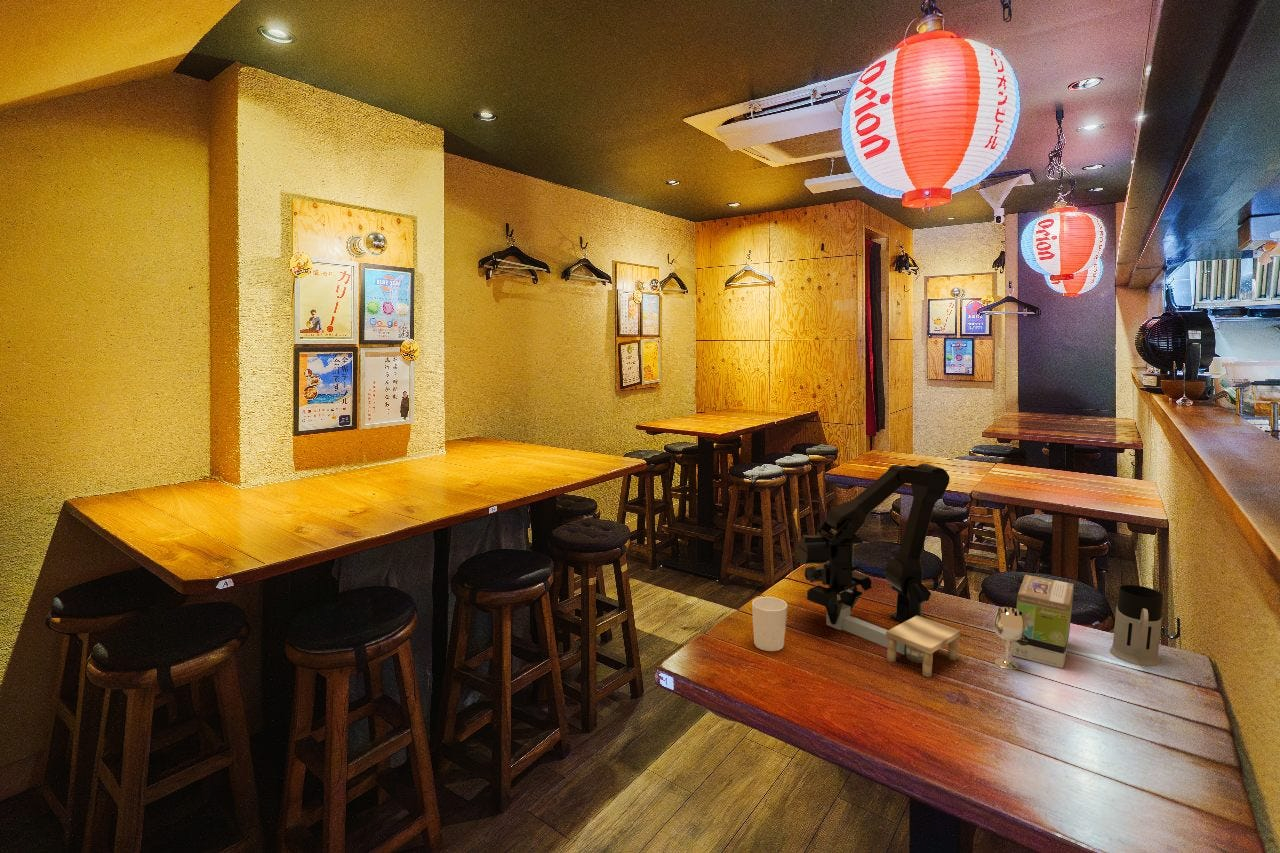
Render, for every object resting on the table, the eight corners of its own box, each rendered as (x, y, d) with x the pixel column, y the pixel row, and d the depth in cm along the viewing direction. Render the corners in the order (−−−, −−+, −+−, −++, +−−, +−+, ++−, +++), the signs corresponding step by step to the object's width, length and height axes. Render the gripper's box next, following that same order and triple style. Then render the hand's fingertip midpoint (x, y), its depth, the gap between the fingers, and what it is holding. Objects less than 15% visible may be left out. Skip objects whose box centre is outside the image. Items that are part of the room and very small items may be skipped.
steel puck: (912, 650, 142) (913, 637, 141) (934, 658, 138) (935, 646, 137) (901, 657, 139) (901, 644, 138) (922, 666, 135) (923, 653, 134)
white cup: (784, 637, 148) (784, 597, 147) (788, 653, 140) (789, 611, 139) (750, 636, 149) (750, 596, 148) (752, 652, 141) (753, 610, 140)
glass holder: (1156, 652, 139) (1163, 588, 137) (1167, 682, 127) (1175, 612, 125) (1107, 643, 144) (1113, 580, 142) (1114, 670, 132) (1120, 603, 130)
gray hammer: (836, 620, 157) (836, 601, 156) (911, 650, 141) (912, 629, 141) (826, 624, 155) (826, 605, 154) (902, 655, 139) (903, 634, 138)
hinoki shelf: (915, 641, 145) (916, 615, 145) (959, 658, 138) (960, 630, 137) (884, 659, 137) (886, 631, 137) (929, 678, 130) (930, 648, 129)
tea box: (1065, 670, 132) (1071, 603, 130) (1010, 656, 138) (1015, 592, 136) (1069, 643, 144) (1074, 581, 142) (1018, 631, 150) (1023, 572, 148)
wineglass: (991, 667, 134) (995, 613, 132) (990, 655, 139) (994, 603, 137) (1022, 673, 131) (1027, 619, 130) (1021, 661, 136) (1024, 608, 135)
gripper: (835, 544, 164) (833, 601, 166) (789, 560, 153) (787, 620, 155) (873, 555, 155) (871, 615, 157) (828, 573, 144) (825, 637, 146)
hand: (838, 621), depth 154 cm, fingers closed on gray hammer, 4 cm apart
